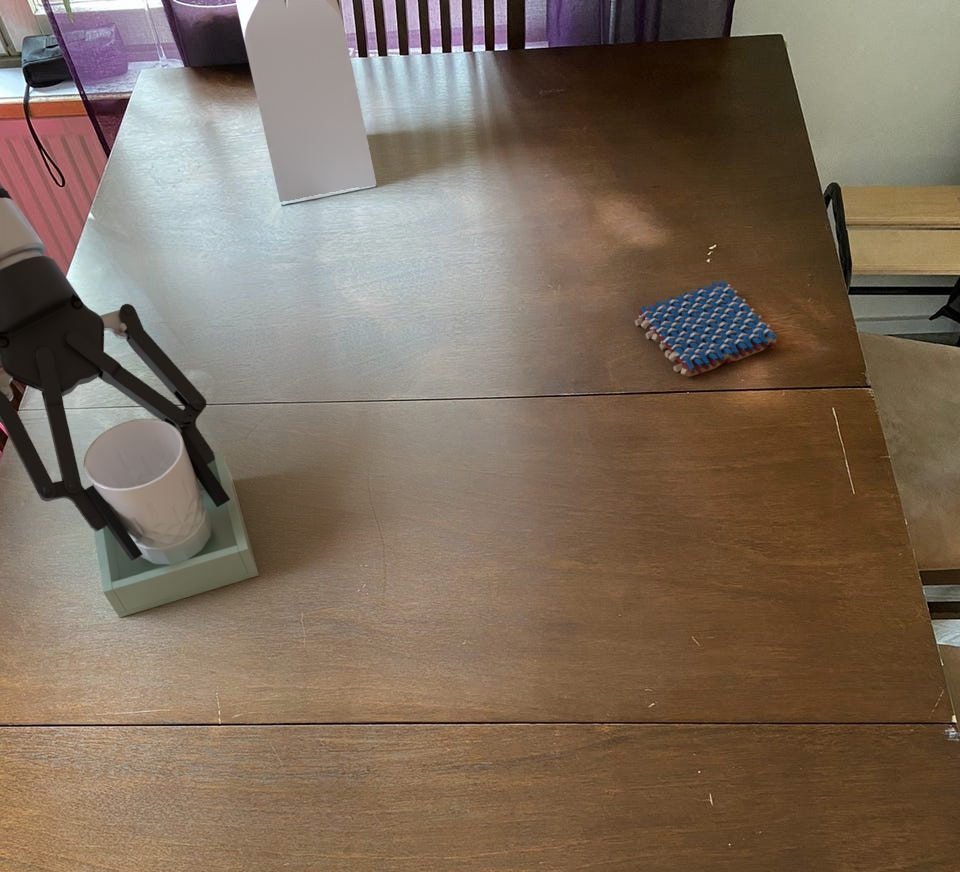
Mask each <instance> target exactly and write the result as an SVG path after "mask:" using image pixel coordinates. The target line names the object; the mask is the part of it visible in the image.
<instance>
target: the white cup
mask: <svg viewBox="0 0 960 872" xmlns="http://www.w3.org/2000/svg"><path fill="white" fill-rule="evenodd" d="M83 469H84V473H85V475H86V477H87V479H88V480H89V482H90V484H91V486H92V485H93V486H94V487H95V489H96V490H97V491H98V492H99V494H100V495H101V496H102V497H103V498H104V500H105V501H106V503H107V504H108V506H109V507H110V508H111V510H112V511H113V513H114V514H115V515H116V517H117V518H118V520H119V521H120V523H121V524H122V525H123V527H124V528H125V530H126V531H127V532H128V534H129V535H130V537H131V538H132V539H133V541H134V542H135V544H136V545H137V547H138V548H139V549H140V551H141V552H142V554H143V555H141V557H142V558H144V559H146V560H148V561H150V562H152V563H154V564H168V565H171V564H175V563H178V562H181V561H185V560H188V559H189V558H191V557H192V556H194V555H195V554H197V553H198V552H199V551H201V550H202V549H203V547H204V546H205V544H206V543H207V541H208V540H209V538H210V536H211V520H210V518H209V515H208V512H207V510H206V507H205V504H204V499H203V495H202V492H201V490H200V487H199V483H198V480H197V477H196V474H195V471H194V469H193V466H192V463H191V461H190V458H189V455H188V452H187V450H186V447H185V444H184V441H183V438H182V436H181V434H180V432H179V431H178V430H177V429H176V428H175V427H174V426H172V425H171V424H169V423H167V422H164V421H162V420H160V419H158V418H156V419H155V418H137V419H136V418H135V419H131V420H127V421H124V422H121V423H119V424H116V425H114V426H112V427H110V428H108V429H107V430H105V431H103V432H102V433H100V434H99V435H98V436H97V437H96V438H95V439H94V440H93V441H92V443H91V444H90V445H89V447H88V448H87V450H86V452H85V454H84V460H83Z"/></svg>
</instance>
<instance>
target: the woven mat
mask: <svg viewBox="0 0 960 872" xmlns="http://www.w3.org/2000/svg"><path fill="white" fill-rule="evenodd" d="M710 285H711V286H708V285H707V286H704V287H703V289H702V286H699V287H698V288H697V289H696V290H692V291H690V292H689V293H688V291H685V292H684V293H682V294H683V295H676V296H675V298H674V296H670V297H669V298H668V300H662V301H661V303H660V300H658V301H656V302H655V303H654V305H648V306H647V308H646V306H641V308H640V310H638V319H635V320H634V322H635V326H637V327H638V326H641V327H642V328H643V329H644V330H647V329H648V330H649V331H647V332H646V333H645V338H646V339H647V340H652V341H654V342H656V343H660V344H659V348H660V350H661V351H665V352H664V356H665V357H666V359H668V360H669V361H670V362H672V363H674V362H676V363H677V362H678V363H679V364H676V365H674V366H673V371H674V372H676V373H678V372H680V375H682V376H684V377H689V378H690V377H694V376H697V375H700V374H702V373H706V372H709V371H711V370H715V369H716V368H718V367H719V366H721V365H722V364H730V363H732V362H737V361H740V360H742V359H746V358H747V357H749V356H752V355H754V354H757V353H760V352H762V351H764V350H765V349H767V348H775V347H776V343H777V336H776V334H775V333H774V332H773V330H772V329H770V328H771V325H770V324H768V325H767V324H766V322H762V321H761V320H760V319H762V315H759V316H758V313H756V312H753V311H755V309H754V308H750V307H749V304H748V303H745V302H746V301H747V300H746V299H745V298H742V297H740V296H736V294H737V292H738V291H737V290H734V288H733V287H731V285H730V283H728V284H727V283H726V282H725V281H717V282H716V281H714V282H711V284H710ZM661 304H662V305H661ZM666 349H667V350H666Z"/></svg>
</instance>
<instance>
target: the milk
mask: <svg viewBox="0 0 960 872" xmlns="http://www.w3.org/2000/svg"><path fill="white" fill-rule="evenodd" d="M235 4H236V8H237V13H238V18H239V23H240V27H241V33H242V37H243V41H244V46H245V50H246V54H247V59H248V63H249V69H250V72H251V77H252V81H253V86H254V90H255V91H254V92H255V95H256V100H257V104H258V108H259V114H260V116H261V117H260V118H261V123H262V127H263V132H264V137H265V141H266V145H267V150H268V153H269V158H270V164H271V167H272V173H273V177H274V181H275V187H276V190H277V195H278V199H279V203H280V202H283V201H290V200H295V199H300V198H303V197H309V196H314V195H318V194H326V193H329V192H336V191H340V190H346V189H350V188H356V187H359V188H362V187H367V186H373V185H376V184H377V179H376V175H375V170H374V166H373V165H374V164H373V161H372V156H371V150H370V146H369V140H368V136H367V131H366V127H365V122H364V117H363V112H362V107H361V103H360V97H359V92H358V88H357V82H356V78H355V73H354V68H353V63H352V58H351V55H350V49H349V44H348V39H347V35H346V30H345V25H344V21H343V18H342V12H341V8H340V6H339V3H338V0H235Z"/></svg>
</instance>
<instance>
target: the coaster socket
mask: <svg viewBox="0 0 960 872" xmlns="http://www.w3.org/2000/svg"><path fill="white" fill-rule="evenodd" d="M214 456H215V460H214V461H213V462H211V463H209V464H208V467H209V468H210V470H211V471H212V473H213V474H214V476H215V477H216V479H217V480H218V482H219V483H220V485H221V486H222V488H223V489H224V491H225V492H226V494H227V495H228V497H229V498H230V500H229V501H227V502H226V503H224V504H222V505H221V506H219V507H217V506H216V505H215V503H214V502H213V500H212V499H211V498H210V496H209V495H208V493H207V492H206V490H205V489H204V487H203V486H202V484H201V483H200V481H199V480H198V478H197V480H198V483H199V487H200V490H201V492H202V495H203V499H204V504H205V507H206V510H207V512H208V515H209V518H210V520H211V536H210V538H209V540H208V541H207V543H206V544H205V546H204V547H203V549H202V550H201V551H199V552H198V553H197V554H195V555H194V556H192V557H191V558H189V559H188V560H185V561H181V562H178V563H175V564H171V565H168V564H154V563H152V562H150V561H148V560H146V559H144V558H142V557H141V556H140V557H138V558H136V559H135V560H133V561H131V559H130V558H129V557H128V555H127V554H126V552H125V551H124V550H123V548H122V547H121V545H120V544H119V543H118V541H117V540H116V538H115V537H114V536H113V534H112V533H111V531H110V530H109V529H108V527H107V526H106V527H104V528H103V529H101V530H99V531H98V532H97V531H95V530H93V535H94V541H95V548H96V555H97V561H98V569H99V575H100V581H101V587H102V593H103V594H104V596H105V597H106V599H107V601H108V602H109V604H110V606H111V607H112V609H113V611H114V612H115V613H116V615H117V617H118V618H123V617H126V616H130V615H134V614H136V613H140V612H143V611H146V610H151V609H153V608H156V607H159V606H163V605H166V604H169V603H173V602H176V601H179V600H183V599H185V598H188V597H192V596H196V595H199V594H203V593H205V592H208V591H212V590H216V589H219V588H222V587H226V586H228V585H232V584H235V583H238V582H242V581H245V580H249V579H252V578H254V577H259V576H260V573H259V569H258V566H257V562H256V559H255V556H254V551H253V548H252V544H251V540H250V537H249V533H248V529H247V525H246V523H245V519H244V514H243V510H242V507H241V504H240V501H239V496H238V493H237V489H236V485H235V482H234V479H233V476H232V473H231V471H230V468H229V466H228V463H227V461H226V459H225V456H224V453H223V452H222V451H219V452H217V453H214Z"/></svg>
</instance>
